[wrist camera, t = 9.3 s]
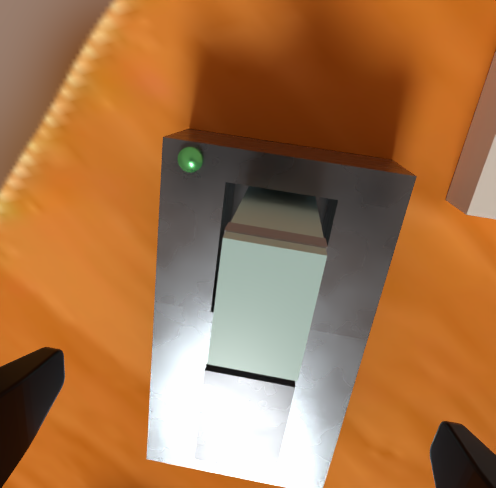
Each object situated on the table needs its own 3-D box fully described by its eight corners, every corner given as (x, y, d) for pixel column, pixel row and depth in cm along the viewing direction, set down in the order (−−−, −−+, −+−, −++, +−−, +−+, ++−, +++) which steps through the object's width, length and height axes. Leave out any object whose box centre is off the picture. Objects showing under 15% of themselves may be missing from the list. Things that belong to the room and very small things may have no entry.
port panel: (392, 159, 19) (421, 179, 14) (317, 435, 25) (321, 505, 21) (188, 128, 19) (158, 138, 15) (168, 406, 26) (142, 468, 22)
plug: (315, 192, 19) (329, 254, 12) (297, 280, 21) (298, 382, 13) (249, 181, 19) (221, 236, 12) (237, 269, 21) (205, 364, 14)
